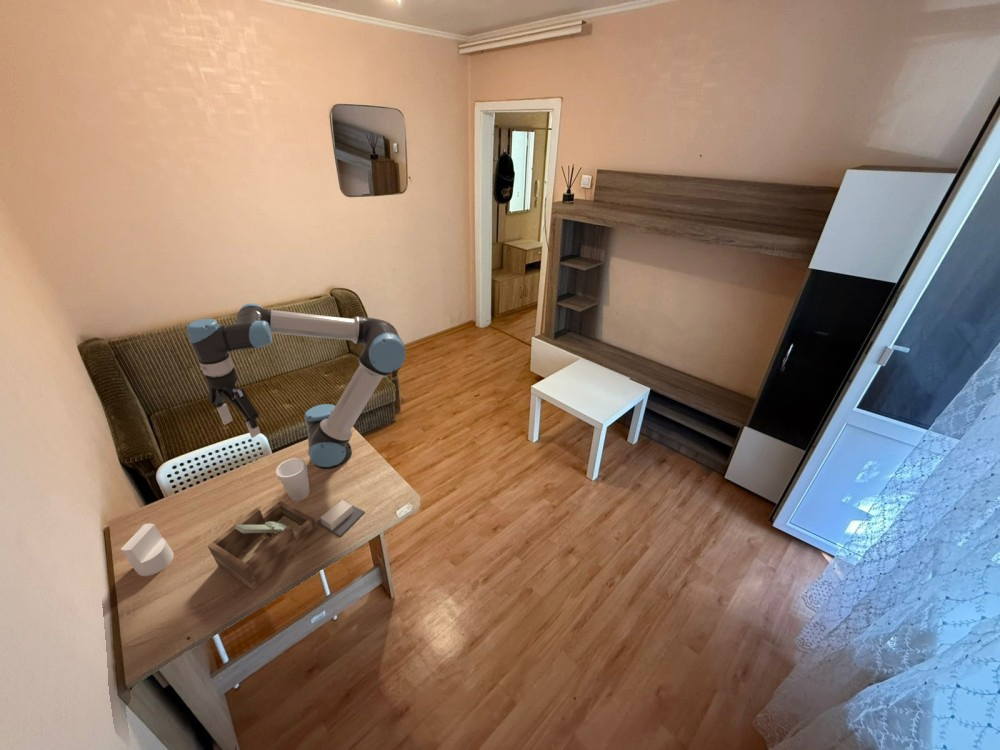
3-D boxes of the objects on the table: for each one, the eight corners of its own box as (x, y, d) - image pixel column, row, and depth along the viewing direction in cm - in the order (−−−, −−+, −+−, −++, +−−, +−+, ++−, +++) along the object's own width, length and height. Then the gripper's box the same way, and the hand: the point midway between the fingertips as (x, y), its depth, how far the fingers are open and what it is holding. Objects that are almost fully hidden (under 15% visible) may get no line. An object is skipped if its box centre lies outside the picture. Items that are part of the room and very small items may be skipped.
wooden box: (284, 511, 140) (277, 492, 135) (318, 529, 134) (311, 510, 129) (218, 566, 122) (207, 546, 117) (253, 590, 116) (243, 569, 111)
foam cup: (303, 506, 142) (294, 479, 135) (279, 501, 143) (269, 474, 137) (319, 486, 150) (311, 460, 143) (296, 482, 151) (287, 456, 145)
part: (343, 505, 142) (342, 499, 140) (353, 511, 139) (352, 505, 138) (321, 523, 135) (320, 517, 133) (332, 530, 133) (330, 524, 131)
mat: (341, 500, 144) (340, 499, 144) (364, 512, 140) (364, 511, 140) (316, 523, 136) (316, 522, 135) (340, 536, 132) (340, 535, 131)
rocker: (279, 524, 135) (282, 519, 135) (298, 535, 131) (301, 529, 132) (228, 524, 118) (231, 518, 118) (248, 536, 114) (251, 530, 114)
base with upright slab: (152, 548, 127) (135, 522, 121) (180, 549, 127) (165, 524, 120) (128, 575, 119) (109, 549, 113) (158, 576, 119) (140, 550, 113)
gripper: (180, 366, 121) (205, 423, 131) (234, 388, 111) (257, 447, 122) (206, 356, 126) (228, 411, 137) (259, 376, 117) (278, 433, 128)
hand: (241, 428), depth 130 cm, fingers open, 13 cm apart
